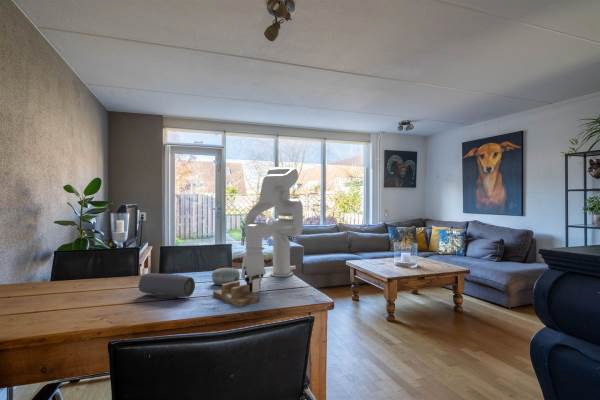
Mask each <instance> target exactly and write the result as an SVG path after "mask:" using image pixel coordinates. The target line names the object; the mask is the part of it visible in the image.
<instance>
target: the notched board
mask: <svg viewBox="0 0 600 400" xmlns="http://www.w3.org/2000/svg"><path fill="white" fill-rule="evenodd" d="M212 295H213V297H215V298H218V299H220V300H222V301H224V302H226V303H229V304H231V305H233V306H236V307H238V308H242V307H245V306H247V305H251V304H255V303H259V302H260V296H259V295H256V294H254V293H251V292H250V285H248V284H247V283H246V284H241V282H240V280H239V281H234V282H230V283H225V284H222V285H221V289H218V290H213V292H212Z"/></svg>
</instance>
